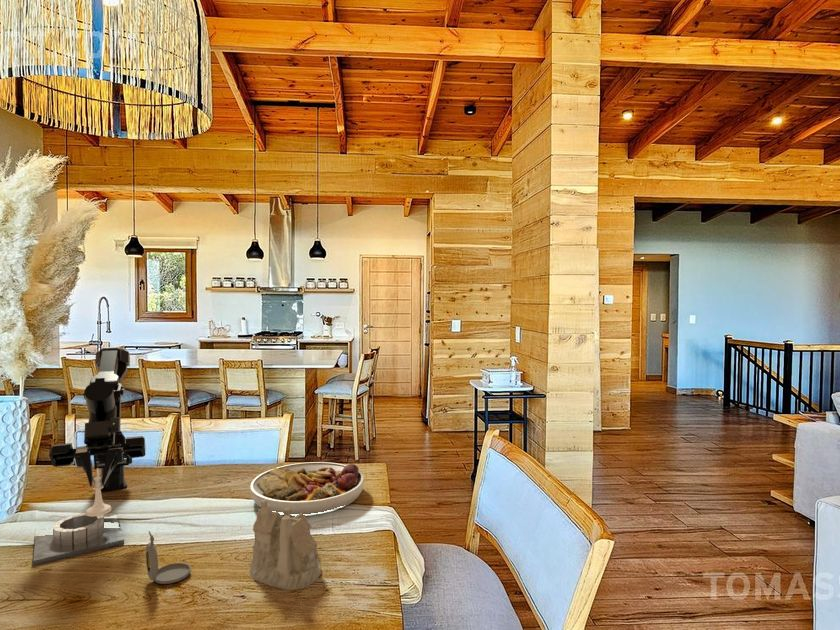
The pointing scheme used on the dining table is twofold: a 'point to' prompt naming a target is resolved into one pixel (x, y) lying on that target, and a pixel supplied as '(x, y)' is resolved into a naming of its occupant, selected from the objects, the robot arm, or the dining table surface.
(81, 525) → the lens mount
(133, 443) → the robot arm
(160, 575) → the pocket watch
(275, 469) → the bowl
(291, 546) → the grey brown rock formation
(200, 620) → the dining table surface
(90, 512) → the chess piece
